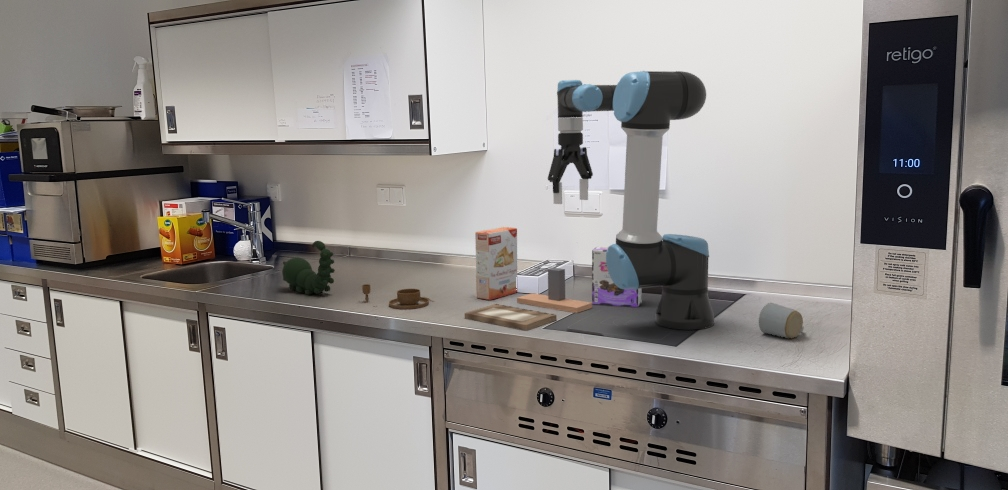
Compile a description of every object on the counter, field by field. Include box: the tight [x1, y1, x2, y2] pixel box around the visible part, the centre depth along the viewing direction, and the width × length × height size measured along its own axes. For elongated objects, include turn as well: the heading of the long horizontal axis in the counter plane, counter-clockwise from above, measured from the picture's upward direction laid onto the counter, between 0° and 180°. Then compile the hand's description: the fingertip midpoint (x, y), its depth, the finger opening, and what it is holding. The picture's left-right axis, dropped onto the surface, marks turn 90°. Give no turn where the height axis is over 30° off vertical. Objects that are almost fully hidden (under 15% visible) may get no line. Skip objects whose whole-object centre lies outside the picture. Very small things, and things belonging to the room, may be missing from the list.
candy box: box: [591, 246, 643, 308], centre depth 222 cm, size 14×6×16 cm, turn 68°
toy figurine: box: [281, 240, 336, 296], centre depth 248 cm, size 9×19×25 cm
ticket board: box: [464, 303, 557, 331], centre depth 209 cm, size 22×13×2 cm, turn 49°
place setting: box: [361, 283, 435, 310], centre depth 231 cm, size 18×20×6 cm
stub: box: [516, 267, 593, 314], centre depth 223 cm, size 22×7×10 cm, turn 49°
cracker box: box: [474, 226, 518, 301], centre depth 236 cm, size 14×6×21 cm, turn 141°
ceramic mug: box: [758, 302, 804, 339], centre depth 187 cm, size 11×8×8 cm
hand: (571, 201), depth 234 cm, fingers open, 13 cm apart
